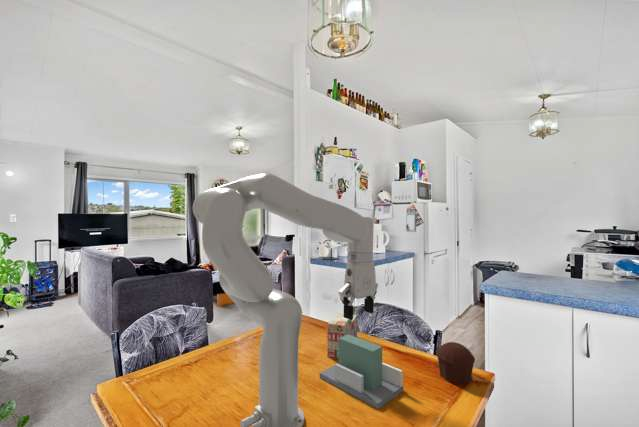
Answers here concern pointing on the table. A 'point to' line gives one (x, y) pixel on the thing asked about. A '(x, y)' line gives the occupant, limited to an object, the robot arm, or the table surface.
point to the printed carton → (339, 332)
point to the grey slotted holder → (354, 386)
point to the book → (362, 359)
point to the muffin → (455, 363)
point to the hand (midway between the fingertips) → (358, 315)
